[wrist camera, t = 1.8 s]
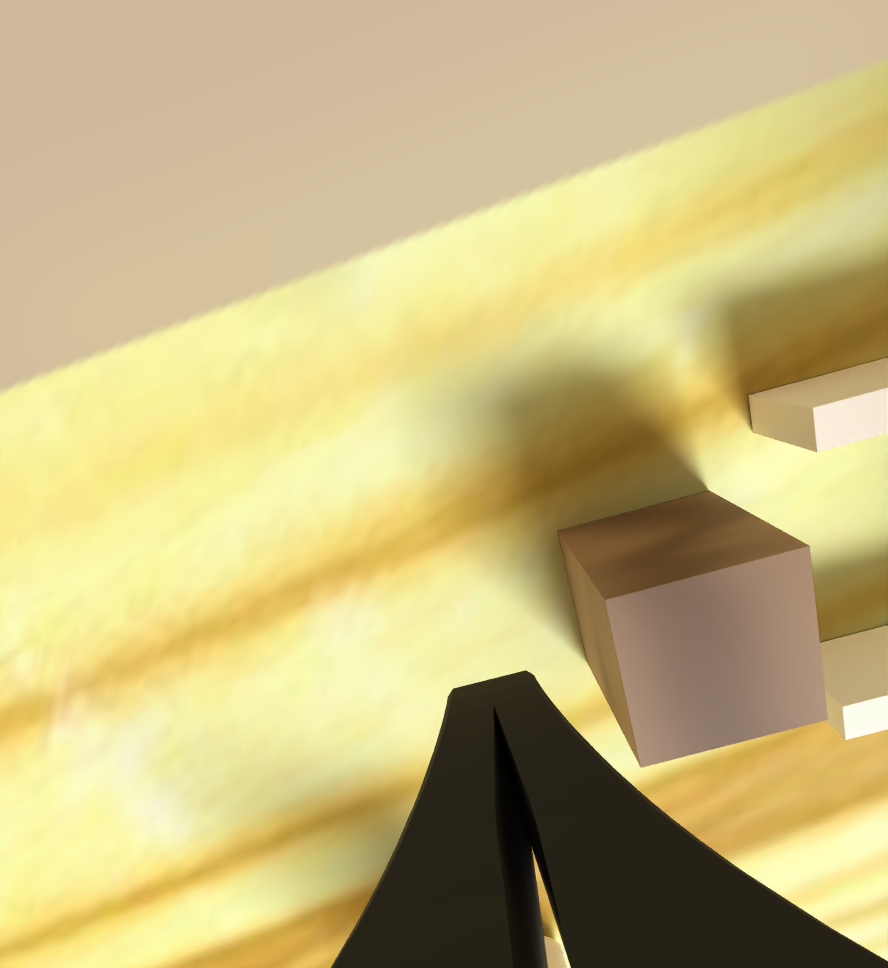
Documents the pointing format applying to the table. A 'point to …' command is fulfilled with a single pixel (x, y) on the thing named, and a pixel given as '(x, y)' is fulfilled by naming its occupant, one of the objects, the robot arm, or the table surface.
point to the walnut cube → (697, 625)
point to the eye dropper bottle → (554, 953)
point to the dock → (819, 426)
